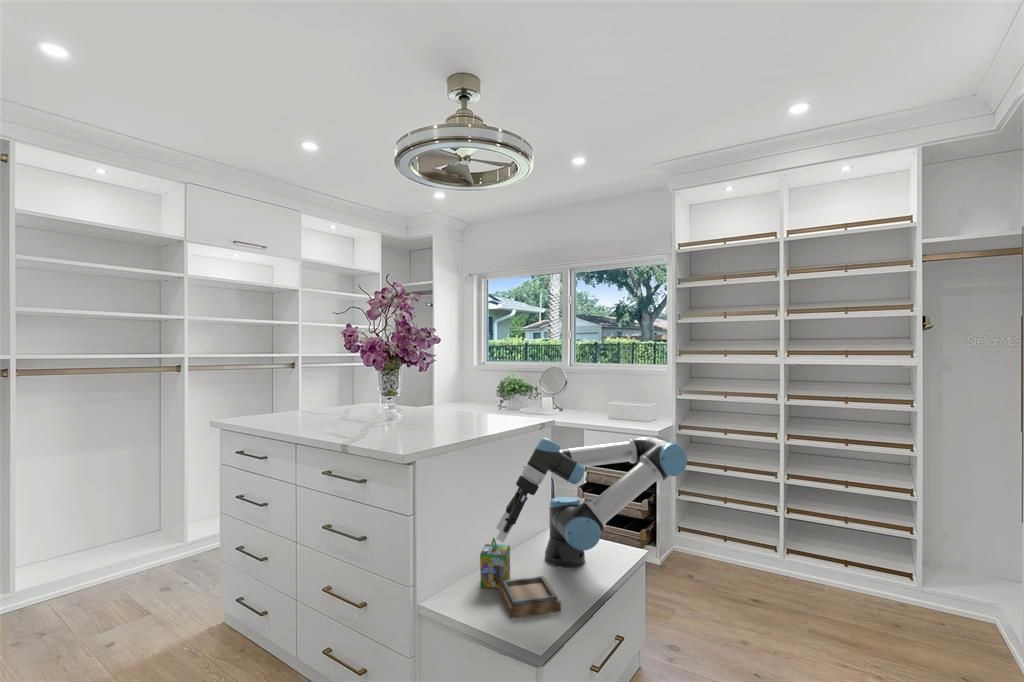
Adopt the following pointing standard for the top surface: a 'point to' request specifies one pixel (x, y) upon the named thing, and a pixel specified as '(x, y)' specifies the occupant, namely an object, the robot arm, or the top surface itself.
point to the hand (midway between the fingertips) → (499, 535)
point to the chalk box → (494, 564)
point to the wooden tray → (528, 596)
